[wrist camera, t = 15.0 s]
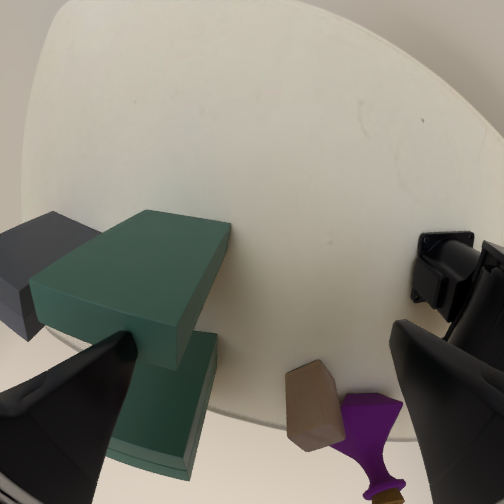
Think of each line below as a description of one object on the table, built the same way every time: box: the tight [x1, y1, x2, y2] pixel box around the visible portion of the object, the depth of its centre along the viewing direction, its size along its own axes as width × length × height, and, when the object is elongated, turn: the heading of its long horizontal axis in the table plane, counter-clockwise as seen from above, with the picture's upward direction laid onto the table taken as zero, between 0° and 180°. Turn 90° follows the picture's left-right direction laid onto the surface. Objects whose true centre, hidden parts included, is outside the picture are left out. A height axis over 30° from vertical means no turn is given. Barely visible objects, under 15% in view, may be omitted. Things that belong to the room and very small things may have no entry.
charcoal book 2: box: [0, 211, 102, 318], centre depth 17 cm, size 7×2×11 cm, turn 70°
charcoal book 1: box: [0, 301, 45, 342], centre depth 17 cm, size 7×2×11 cm, turn 70°
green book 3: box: [106, 353, 217, 481], centre depth 19 cm, size 7×2×13 cm, turn 85°
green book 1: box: [29, 210, 231, 371], centre depth 15 cm, size 7×2×13 cm, turn 81°
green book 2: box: [108, 331, 217, 470], centre depth 19 cm, size 7×2×13 cm, turn 85°
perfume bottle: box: [329, 393, 406, 504], centre depth 19 cm, size 8×8×18 cm
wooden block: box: [285, 360, 346, 452], centre depth 22 cm, size 4×4×8 cm
